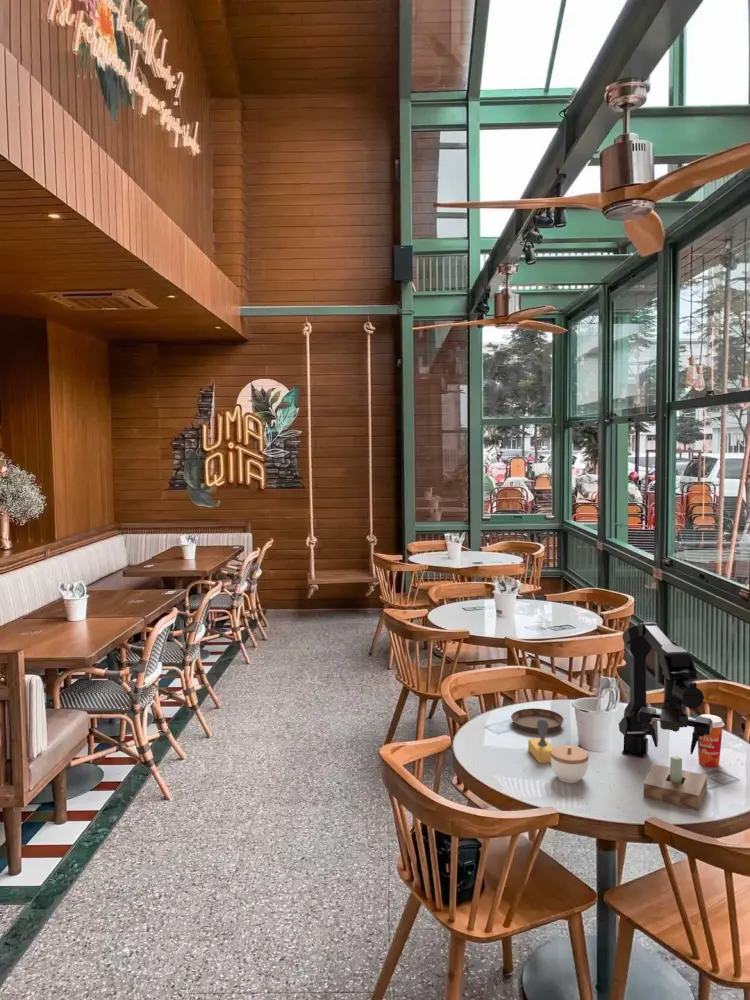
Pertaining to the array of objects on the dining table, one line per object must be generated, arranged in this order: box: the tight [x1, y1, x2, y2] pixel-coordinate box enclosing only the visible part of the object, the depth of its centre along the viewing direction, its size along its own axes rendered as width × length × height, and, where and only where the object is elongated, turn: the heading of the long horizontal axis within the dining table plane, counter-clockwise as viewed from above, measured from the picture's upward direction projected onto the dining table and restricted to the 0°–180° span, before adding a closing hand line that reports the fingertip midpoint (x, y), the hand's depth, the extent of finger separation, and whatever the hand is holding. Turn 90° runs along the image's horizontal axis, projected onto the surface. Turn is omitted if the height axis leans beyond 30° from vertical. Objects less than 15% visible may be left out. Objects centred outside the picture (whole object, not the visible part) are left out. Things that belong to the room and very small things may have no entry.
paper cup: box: [697, 713, 725, 768], centre depth 224 cm, size 8×8×14 cm
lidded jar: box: [550, 744, 590, 784], centre depth 216 cm, size 11×11×9 cm
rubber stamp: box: [527, 718, 555, 764], centre depth 232 cm, size 10×6×12 cm, turn 7°
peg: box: [669, 755, 683, 784], centre depth 206 cm, size 3×3×10 cm
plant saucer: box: [510, 707, 565, 734], centre depth 257 cm, size 18×18×3 cm
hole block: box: [643, 763, 708, 811], centre depth 206 cm, size 14×14×4 cm
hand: (673, 750), depth 207 cm, fingers open, 9 cm apart
